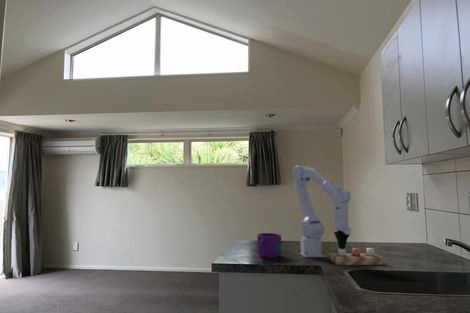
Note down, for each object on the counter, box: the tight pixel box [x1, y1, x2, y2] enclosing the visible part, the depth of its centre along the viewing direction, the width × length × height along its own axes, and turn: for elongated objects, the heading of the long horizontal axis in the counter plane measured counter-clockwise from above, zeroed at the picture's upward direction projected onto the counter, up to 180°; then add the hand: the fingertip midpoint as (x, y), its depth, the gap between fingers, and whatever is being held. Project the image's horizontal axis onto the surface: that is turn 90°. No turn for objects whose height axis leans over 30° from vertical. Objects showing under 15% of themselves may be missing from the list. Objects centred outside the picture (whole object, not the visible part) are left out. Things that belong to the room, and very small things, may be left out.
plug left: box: [337, 247, 347, 257], centre depth 146 cm, size 3×3×3 cm
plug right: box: [366, 247, 375, 257], centre depth 147 cm, size 3×3×3 cm
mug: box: [256, 232, 282, 259], centre depth 156 cm, size 17×11×10 cm, turn 152°
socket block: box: [330, 253, 384, 266], centre depth 146 cm, size 20×8×3 cm, turn 94°
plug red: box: [352, 247, 361, 257], centre depth 146 cm, size 3×3×3 cm
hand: (342, 248), depth 146 cm, fingers closed
